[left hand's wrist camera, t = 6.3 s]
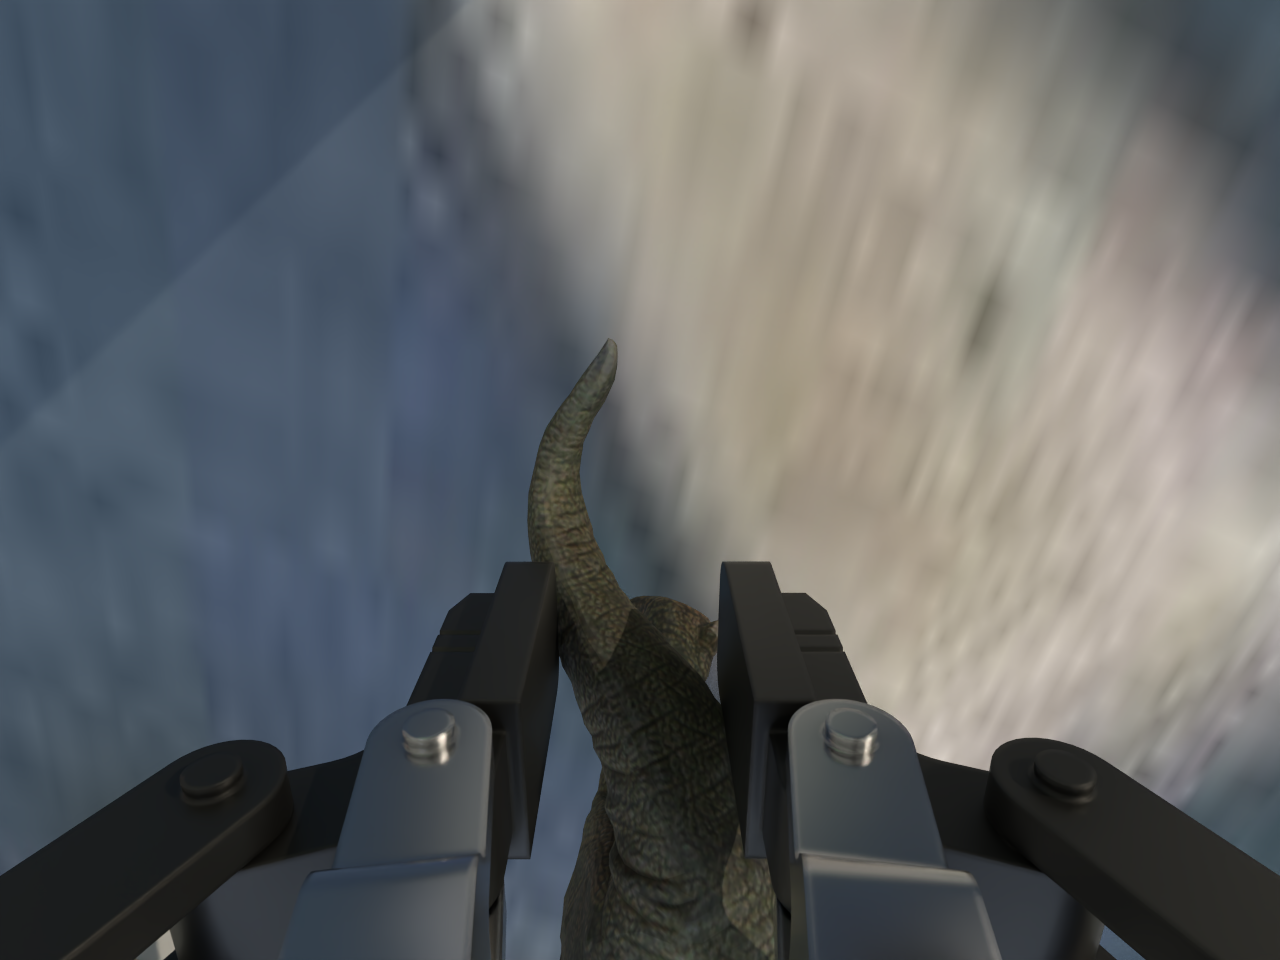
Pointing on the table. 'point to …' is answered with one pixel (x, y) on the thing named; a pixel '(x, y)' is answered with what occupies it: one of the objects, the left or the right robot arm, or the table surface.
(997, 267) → the table surface
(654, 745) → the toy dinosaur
